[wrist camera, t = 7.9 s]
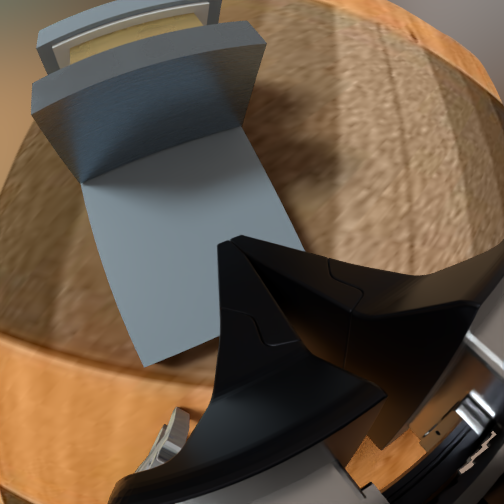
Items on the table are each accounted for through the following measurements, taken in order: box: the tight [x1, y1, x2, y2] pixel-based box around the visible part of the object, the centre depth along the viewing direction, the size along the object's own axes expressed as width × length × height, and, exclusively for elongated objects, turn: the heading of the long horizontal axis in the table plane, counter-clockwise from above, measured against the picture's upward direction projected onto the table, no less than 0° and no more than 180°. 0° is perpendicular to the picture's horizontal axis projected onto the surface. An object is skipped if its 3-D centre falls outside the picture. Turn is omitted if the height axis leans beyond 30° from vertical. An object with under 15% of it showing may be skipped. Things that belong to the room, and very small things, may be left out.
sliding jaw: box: [31, 21, 267, 184], centre depth 14 cm, size 3×12×8 cm, turn 115°
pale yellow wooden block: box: [70, 13, 203, 65], centre depth 15 cm, size 3×8×7 cm, turn 115°
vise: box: [36, 0, 305, 367], centre depth 15 cm, size 22×12×10 cm, turn 25°
